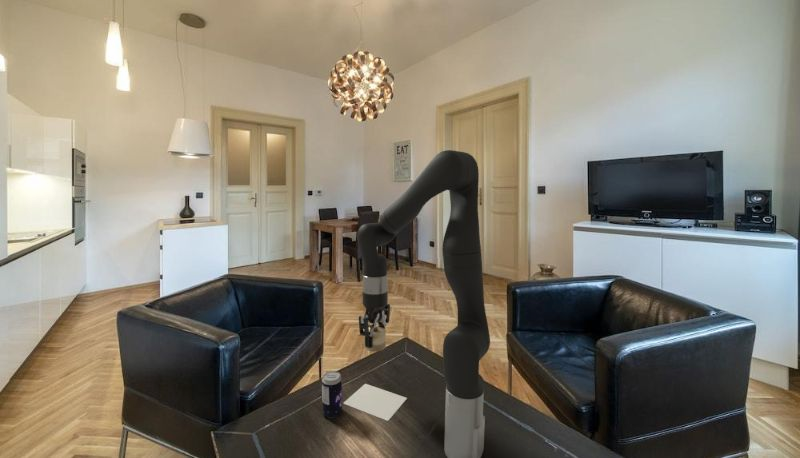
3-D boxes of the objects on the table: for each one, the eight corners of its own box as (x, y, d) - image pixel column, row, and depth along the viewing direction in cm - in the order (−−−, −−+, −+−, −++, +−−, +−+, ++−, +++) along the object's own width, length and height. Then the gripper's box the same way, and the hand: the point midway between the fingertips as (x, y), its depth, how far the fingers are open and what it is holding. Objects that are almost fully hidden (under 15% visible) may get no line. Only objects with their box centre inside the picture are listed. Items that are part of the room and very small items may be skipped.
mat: (407, 399, 106) (407, 398, 106) (387, 422, 95) (387, 420, 95) (365, 384, 113) (365, 383, 113) (343, 404, 103) (343, 403, 103)
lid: (389, 344, 103) (389, 326, 103) (378, 353, 98) (378, 333, 97) (372, 340, 106) (372, 321, 106) (360, 348, 101) (360, 329, 100)
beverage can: (337, 422, 95) (337, 382, 94) (319, 419, 96) (318, 380, 95) (345, 409, 101) (344, 371, 99) (327, 406, 102) (326, 369, 100)
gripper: (372, 298, 92) (372, 355, 94) (397, 285, 104) (397, 336, 106) (350, 293, 95) (350, 349, 97) (377, 281, 108) (377, 331, 110)
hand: (375, 342), depth 102 cm, fingers closed on lid, 6 cm apart
